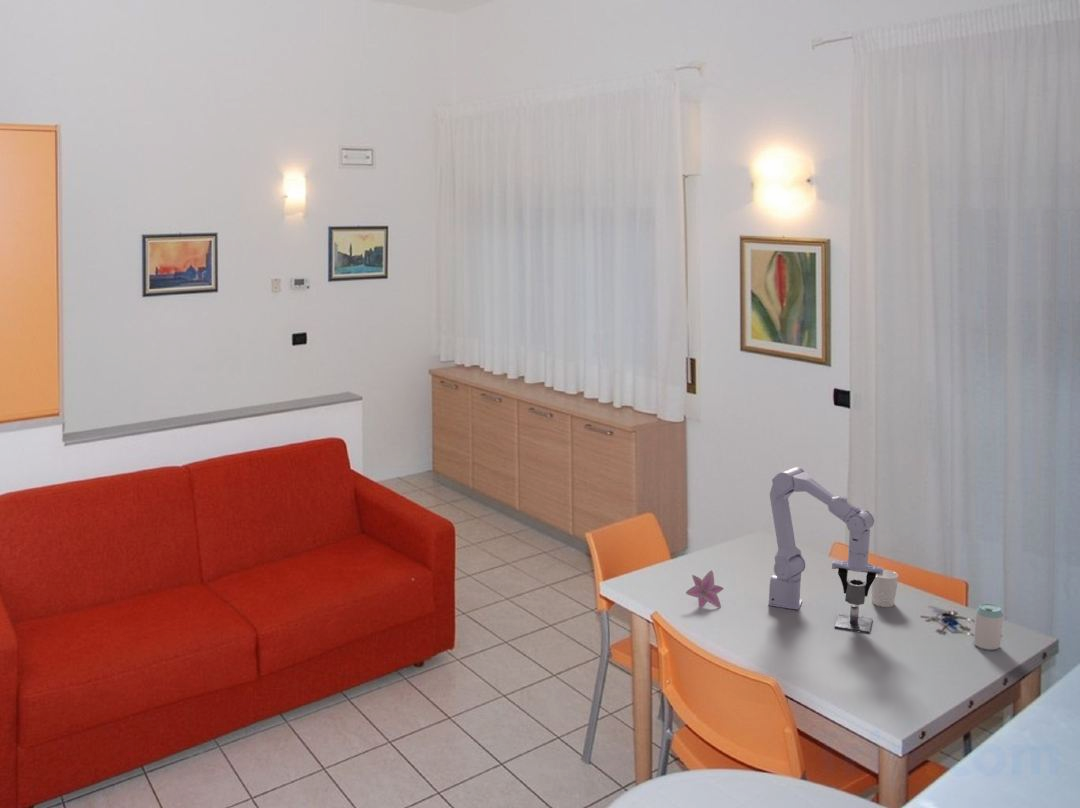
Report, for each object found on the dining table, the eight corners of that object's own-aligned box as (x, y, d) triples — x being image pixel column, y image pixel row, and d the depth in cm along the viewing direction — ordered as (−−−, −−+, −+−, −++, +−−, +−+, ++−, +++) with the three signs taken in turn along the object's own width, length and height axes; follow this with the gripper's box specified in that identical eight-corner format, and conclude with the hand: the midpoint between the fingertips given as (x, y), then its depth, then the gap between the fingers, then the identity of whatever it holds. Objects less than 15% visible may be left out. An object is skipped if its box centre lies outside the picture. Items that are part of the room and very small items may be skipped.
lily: (679, 609, 320) (688, 589, 314) (684, 583, 329) (693, 563, 323) (715, 622, 319) (725, 603, 313) (719, 595, 328) (729, 576, 322)
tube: (844, 602, 303) (846, 584, 302) (846, 596, 308) (848, 577, 307) (863, 606, 301) (865, 587, 300) (865, 599, 306) (866, 580, 305)
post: (834, 628, 304) (835, 610, 302) (838, 615, 313) (839, 597, 311) (869, 633, 300) (870, 615, 299) (872, 620, 309) (873, 602, 308)
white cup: (897, 609, 317) (899, 579, 315) (871, 607, 319) (873, 577, 317) (894, 599, 325) (896, 570, 323) (868, 597, 326) (870, 568, 324)
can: (1004, 651, 288) (1008, 611, 286) (980, 652, 288) (984, 612, 285) (991, 640, 295) (995, 601, 293) (968, 641, 295) (972, 602, 292)
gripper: (831, 552, 300) (829, 595, 303) (883, 558, 295) (879, 602, 298) (834, 544, 307) (832, 586, 310) (884, 551, 301) (881, 593, 304)
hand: (855, 593), depth 304 cm, fingers closed on tube, 5 cm apart
